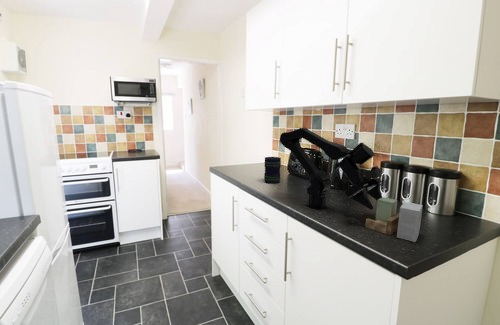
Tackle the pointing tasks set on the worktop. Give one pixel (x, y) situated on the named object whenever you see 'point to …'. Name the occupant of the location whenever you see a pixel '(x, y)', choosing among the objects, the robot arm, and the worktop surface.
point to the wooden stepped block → (384, 225)
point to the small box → (409, 221)
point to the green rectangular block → (385, 209)
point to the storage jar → (272, 170)
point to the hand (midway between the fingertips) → (377, 206)
